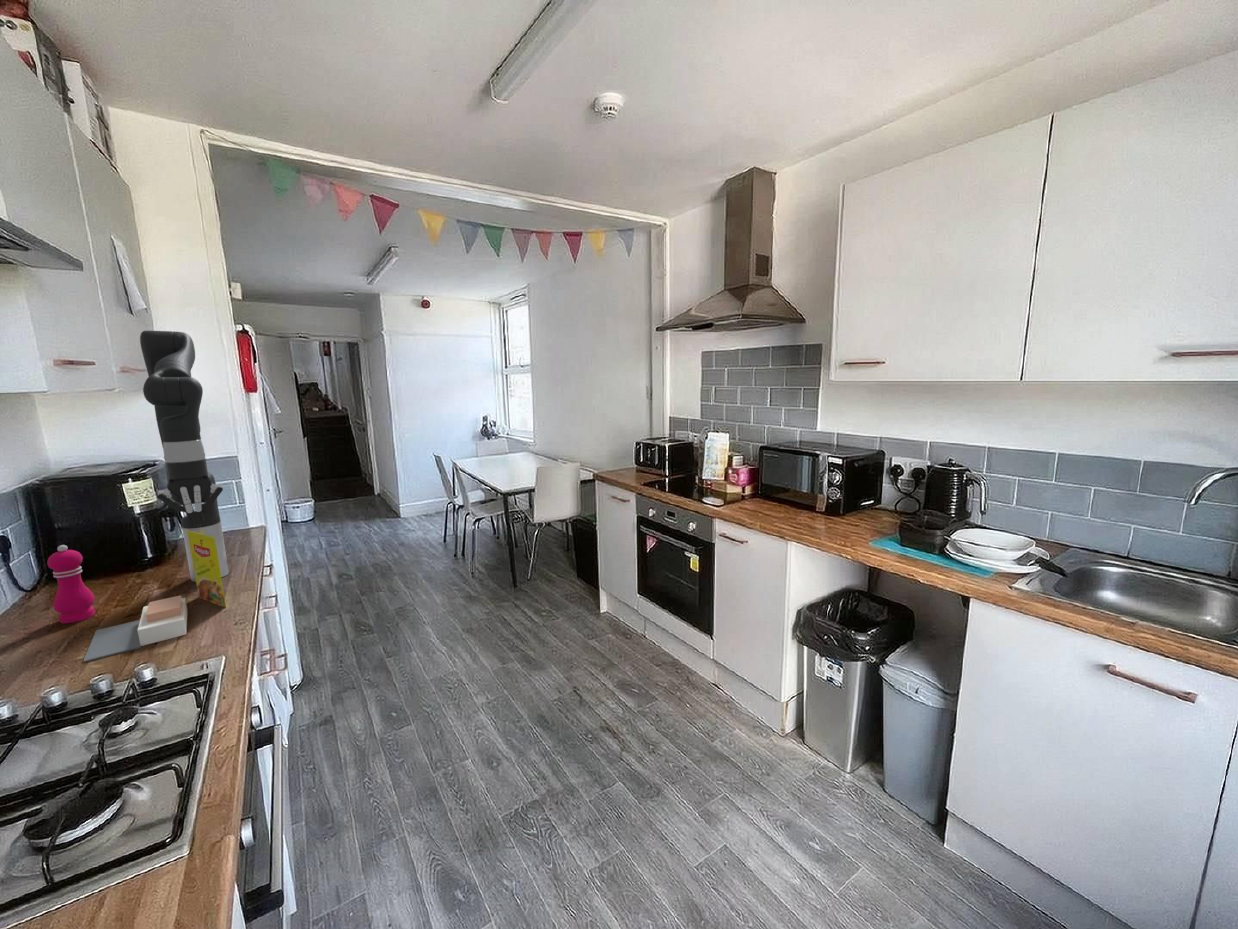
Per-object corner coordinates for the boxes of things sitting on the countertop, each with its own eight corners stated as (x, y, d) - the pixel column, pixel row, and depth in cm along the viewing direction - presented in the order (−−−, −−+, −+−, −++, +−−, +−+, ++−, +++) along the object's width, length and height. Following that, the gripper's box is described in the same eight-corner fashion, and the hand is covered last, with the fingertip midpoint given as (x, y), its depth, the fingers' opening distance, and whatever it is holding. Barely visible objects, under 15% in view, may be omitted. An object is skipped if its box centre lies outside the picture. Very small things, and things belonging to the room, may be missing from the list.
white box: (146, 621, 125) (143, 606, 125) (187, 611, 130) (185, 597, 130) (140, 646, 113) (137, 630, 113) (186, 634, 118) (183, 619, 118)
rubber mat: (96, 631, 120) (96, 630, 120) (146, 619, 126) (146, 618, 126) (83, 662, 107) (83, 661, 107) (140, 648, 112) (139, 646, 112)
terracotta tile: (150, 609, 123) (149, 602, 123) (182, 602, 127) (180, 595, 126) (147, 622, 116) (146, 614, 116) (181, 614, 120) (179, 607, 120)
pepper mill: (104, 613, 130) (89, 541, 127) (68, 626, 123) (51, 551, 120) (86, 610, 132) (71, 539, 129) (50, 622, 125) (32, 548, 122)
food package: (196, 597, 139) (184, 530, 135) (201, 596, 140) (189, 529, 136) (223, 608, 132) (212, 538, 128) (228, 606, 133) (217, 536, 129)
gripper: (219, 454, 127) (229, 518, 130) (150, 460, 119) (162, 528, 122) (220, 457, 122) (230, 524, 125) (147, 463, 113) (160, 535, 116)
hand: (196, 525), depth 123 cm, fingers closed
